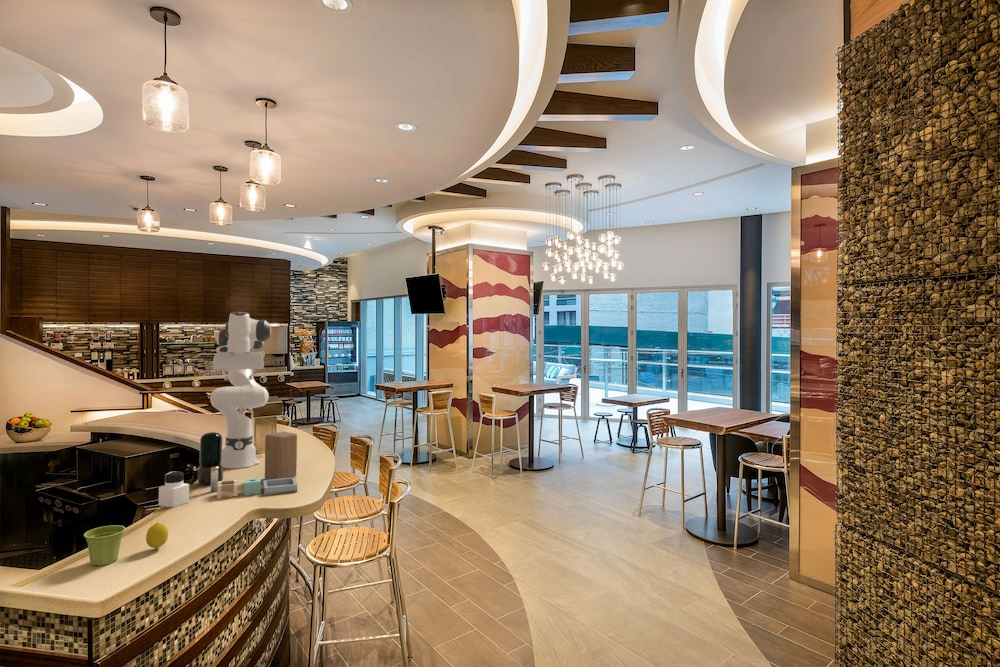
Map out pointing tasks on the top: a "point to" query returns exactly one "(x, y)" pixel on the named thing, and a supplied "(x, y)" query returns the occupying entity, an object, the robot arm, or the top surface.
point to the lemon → (157, 535)
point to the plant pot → (104, 544)
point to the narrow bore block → (252, 486)
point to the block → (280, 455)
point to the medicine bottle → (174, 490)
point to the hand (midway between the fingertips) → (238, 379)
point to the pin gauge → (214, 479)
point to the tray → (279, 486)
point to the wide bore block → (227, 488)
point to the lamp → (210, 457)
